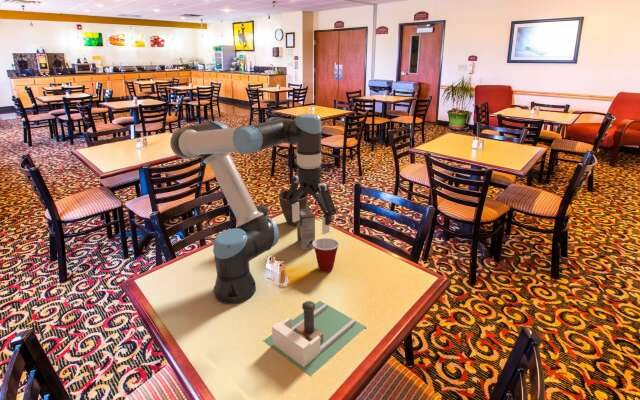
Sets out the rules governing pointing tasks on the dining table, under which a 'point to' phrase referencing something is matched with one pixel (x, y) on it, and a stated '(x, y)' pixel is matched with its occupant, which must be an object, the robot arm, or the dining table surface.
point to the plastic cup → (325, 253)
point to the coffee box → (306, 229)
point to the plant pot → (287, 206)
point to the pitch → (325, 334)
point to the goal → (295, 343)
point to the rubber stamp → (309, 323)
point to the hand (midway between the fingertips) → (310, 226)
